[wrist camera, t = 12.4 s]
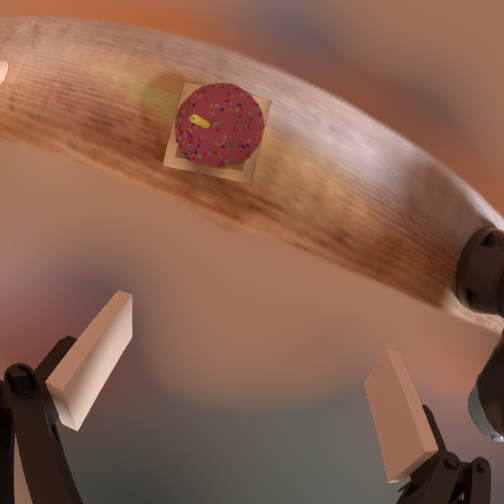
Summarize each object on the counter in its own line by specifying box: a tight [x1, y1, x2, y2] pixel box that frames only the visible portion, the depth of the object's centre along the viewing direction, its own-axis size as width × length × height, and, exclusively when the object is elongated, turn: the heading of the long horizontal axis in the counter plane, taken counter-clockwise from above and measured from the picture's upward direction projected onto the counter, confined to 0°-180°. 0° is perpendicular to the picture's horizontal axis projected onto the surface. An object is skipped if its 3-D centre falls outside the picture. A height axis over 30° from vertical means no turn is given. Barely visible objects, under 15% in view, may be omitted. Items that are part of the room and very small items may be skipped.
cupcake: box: [174, 83, 265, 169], centre depth 25 cm, size 9×8×12 cm
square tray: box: [163, 82, 272, 185], centre depth 32 cm, size 10×10×3 cm
